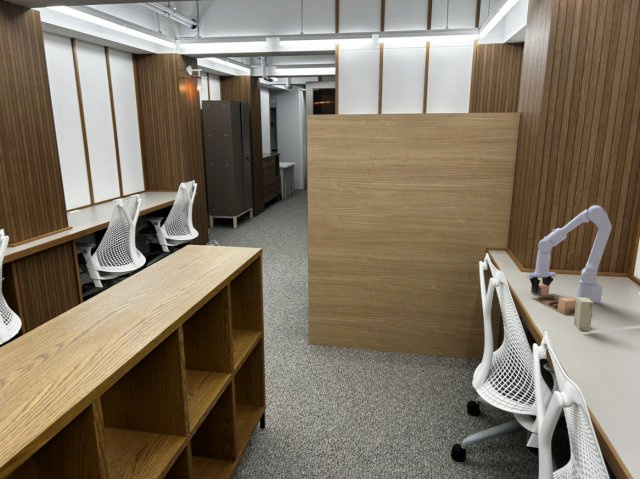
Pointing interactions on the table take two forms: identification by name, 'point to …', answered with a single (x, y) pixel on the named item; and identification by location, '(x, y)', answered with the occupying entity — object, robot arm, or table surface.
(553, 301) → the walnut rack
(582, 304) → the skincare box
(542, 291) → the peach rectangular block
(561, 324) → the table surface
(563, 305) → the pink block
